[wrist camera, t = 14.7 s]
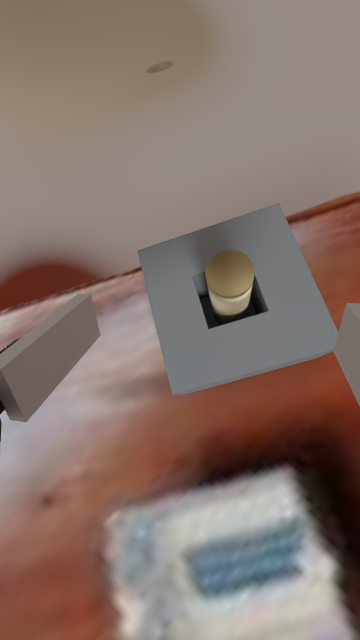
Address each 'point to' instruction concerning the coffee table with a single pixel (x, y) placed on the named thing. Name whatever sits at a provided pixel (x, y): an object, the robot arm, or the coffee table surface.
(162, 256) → the socket block
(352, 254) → the coffee table surface
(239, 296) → the peg
